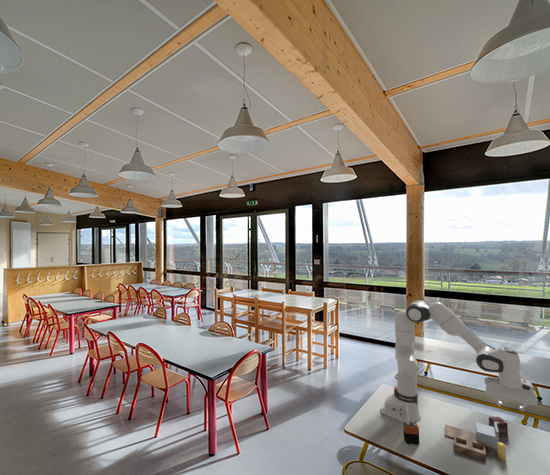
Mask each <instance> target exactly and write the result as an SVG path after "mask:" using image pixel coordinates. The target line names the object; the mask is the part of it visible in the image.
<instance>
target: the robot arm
mask: <svg viewBox="0 0 550 475" xmlns="http://www.w3.org/2000/svg"><path fill="white" fill-rule="evenodd" d="M395 314H396V315H395V319H394V320H395V321H394V322H395V324H394V332H395V346H394V348H395V349H394V350H395V351H394V352H395V355H394V356H395V357H394V358H395V359H396V363H397V376H396V386H394V388H393V389H394V390H393V394H391V395H388V396H387V397H386V398H385V399H384V400H385V401H384V402H383V403H382V404H381V406H380V412H381V414H382V415H385V416H387V417H389V418H392V419H394V420H397V421H399V422H402V423H404V422H410V423H416V422H419V421H420V420H421V414H420V411H419V405H418V404H419V394H418V386H417V385H418V382H417V381H418V380H417V379H418V374H419V362H418V361H417V359H416V356H415V346H416V332H415V331H416V329H415V328H416V327H415V323H417V324H418V323H423V322H426V321H429V320H431V321H433V322H434V323H435V324H437V326H439V328H440V329H441V330H442V331H444V332H445V333H446V334H447V335H450V336H452V337H453V336H454V337H458V338H460V339H462V340H464V341H465V342H466V343H467V344H468V345H469V346H470V347H471V348H472V349H473V350H474V351H475V353H476V357H475V358H476V359H475V362H476V364H477V367H479V368H480V369H481V370H483V371H485V372H488V373H496V374H497V373H498V375H497V376H498V378H497V377H491V376H486V377H485V378H484V384H485V389H484V391H485V394H486V395H487V396H489V397H494V399H495V401H496V403H497V406H498V407H502V405H503V404H502V401H500V400H499V399H503V400H508V401H512V402H517V403H521V404H522V405H519V411H520V412H525V408H526V407H527V406H528V405H531V406H537V405H538V397H537V395H536V394H537V393H536V392H535V390H534V386H533V384H532V383H531V382H530V381H529V380H526V379H524V378H522V376H521V374H520V372H521V359H520V355H519V353H518V352H517V351H516V350H514V349H511V347H510V348H509V347H506V346H499V347H498V348H496V347H493V346H491V345H490V344H488V343H486V342H484V341H483V340H482V339H481V338H480V337H478V336H477V335H476V334H475V333H474V332H473V331H472V330H470V329H469V328H468V326H467V325H466V324H465V323H464V322H463V321H462V320H461V319H460V317H459V316H458V315H457V314H456V313H454V311H452V310H451V309H450V308H449V307H447V306H446V305H445V304H443V303H442V302H440V301H435V302H432V303H431V304H429V303H428V301H426V300H424V299H416V300H414V301H412V302H411V303H410V304H409V305H408V306H407V308H406V310H400V311H397V313H395Z"/></svg>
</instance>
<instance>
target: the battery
mask: <svg viewBox="0 0 550 475" xmlns="http://www.w3.org/2000/svg"><path fill="white" fill-rule="evenodd" d="M402 423H403V426H402V427H403V439H404V440H403V441H404V442H405V444H406V445H416V446H418V445H419V446H420V428H419V427H420V426H418V423H416V422H402Z"/></svg>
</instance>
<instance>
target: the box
mask: <svg viewBox="0 0 550 475" xmlns="http://www.w3.org/2000/svg"><path fill="white" fill-rule="evenodd" d="M494 422H496V423H497V427H498V432H499V438H500V437H502V438H503V437H508V436H509V432H508V431H509V430H508V422H506V421H505V420H504V419H503V418H501V417H500V416H488V426H492V427H494Z"/></svg>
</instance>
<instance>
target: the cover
mask: <svg viewBox="0 0 550 475" xmlns="http://www.w3.org/2000/svg"><path fill="white" fill-rule="evenodd" d="M475 433H476V437H477V441H479V442H482V443H484V444H485V446H488V447H491V448H494V449H498V446H497V443H498V442H500V437H499V432H498V427H497V423H496V422H494V427H492V426H489V424H488V425H487V424H485V423H480V422H478V421H477V422H475Z"/></svg>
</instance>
